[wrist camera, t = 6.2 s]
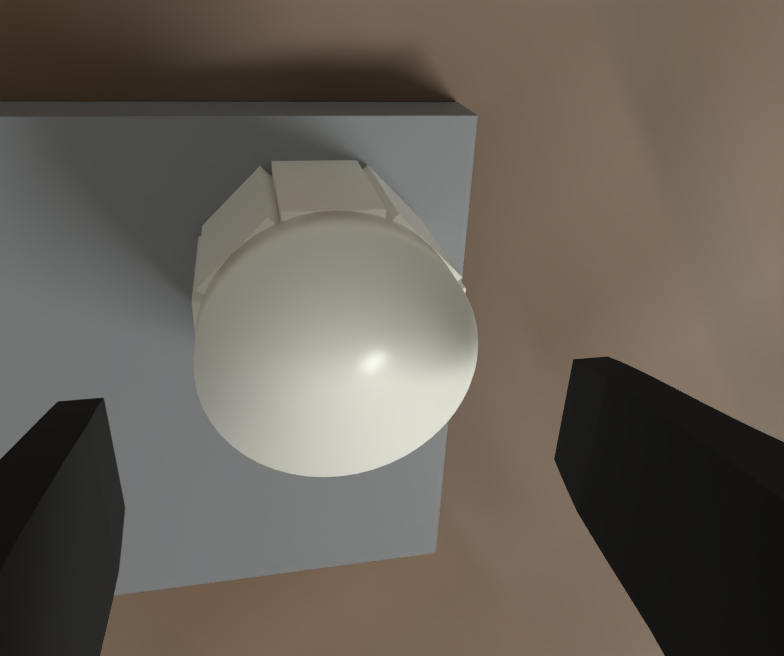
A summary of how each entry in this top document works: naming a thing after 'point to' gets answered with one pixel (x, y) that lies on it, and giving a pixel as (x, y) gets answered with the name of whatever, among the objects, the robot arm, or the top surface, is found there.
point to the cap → (327, 322)
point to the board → (175, 317)
